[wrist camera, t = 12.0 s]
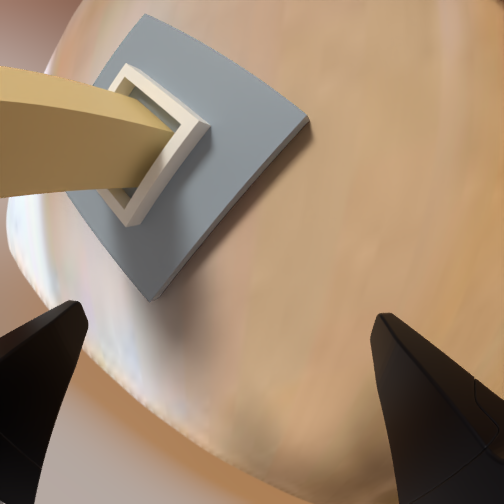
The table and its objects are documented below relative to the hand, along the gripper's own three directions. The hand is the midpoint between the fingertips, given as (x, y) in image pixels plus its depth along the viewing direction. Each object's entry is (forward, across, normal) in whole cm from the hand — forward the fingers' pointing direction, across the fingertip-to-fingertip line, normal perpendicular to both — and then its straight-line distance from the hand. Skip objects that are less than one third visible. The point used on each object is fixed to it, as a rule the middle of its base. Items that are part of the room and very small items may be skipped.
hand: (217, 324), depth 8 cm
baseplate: (+14, +7, -4) cm, 16 cm away
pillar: (+13, +8, -4) cm, 15 cm away
